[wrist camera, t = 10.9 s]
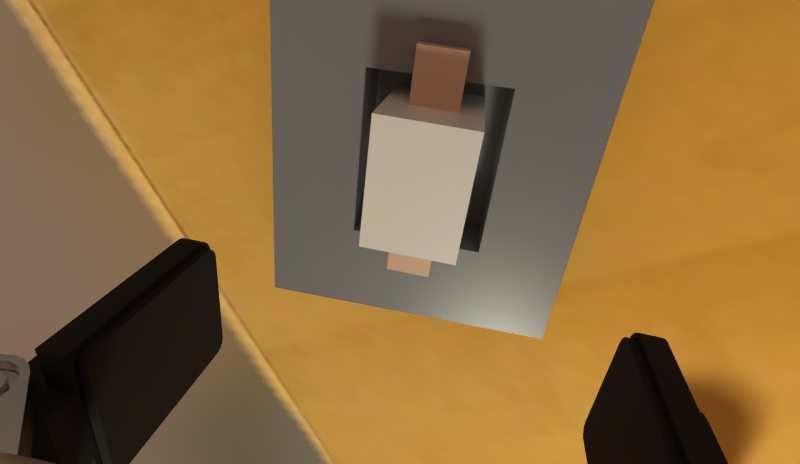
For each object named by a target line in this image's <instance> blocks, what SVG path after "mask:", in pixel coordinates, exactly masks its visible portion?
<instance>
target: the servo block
mask: <svg viewBox="0 0 800 464" xmlns="http://www.w3.org/2000/svg"><path fill="white" fill-rule="evenodd" d="M470 53H471V49H467V48H460V47H454V46H447V45H441V44H435V43H428V42H422V41H419V42H418V43H417V46H416V54H415V61H414V69H413V76H412V83H411V85H410V84H404V83H399V84H398V85H397V86H396V87H395V88H394V89H393V91H392V92H391V93H390V94H389V95H388V96H387V97H386V98H385V99H384V100H383V102H382V103H381V104H380V105H379V106H378V107H377V108H376V109H375V110H374V111H373V112H372V117H371V127H370V137H369V147H368V158H367V168H366V178H365V188H364V199H363V209H362V219H361V229H360V239H359V247H364V248H369V249H374V250H380V251H385V252H389V255H388V262H387V269H390V270H395V271H400V272H405V273H410V274H415V275H420V276H425V277H429V272H430V267H431V262H432V261H436V262H441V263H446V264H451V265H456V261H457V256H458V252H459V247H460V243H461V238H462V233H463V229H464V224H465V220H466V215H467V210H468V206H469V201H470V196H471V192H472V187H473V183H474V178H475V173H476V169H477V164H478V160H479V155H480V150H481V146H482V141H483V136H484V128H485V97H483V96H477V95H471V94H465V93H463V90H464V85H465V80H466V74H467V69H468V64H469V58H470Z"/></svg>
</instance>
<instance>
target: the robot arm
mask: <svg viewBox="0 0 800 464" xmlns="http://www.w3.org/2000/svg"><path fill="white" fill-rule="evenodd" d="M221 344H222V325H221V313H220V302H219V290H218V278H217V266H216V256H215V253H214V251H212V250H210V247H209V245H208V244H207V243H205V242H200V241H195V240H190V239H186V238H181V239H179V240H178V241H176V242H175V243H174V244H172V245H171V246H170V247H168V248H167V249H166V250H164V251H163V252H162V253H160V254H159V255H158V256H157V257H155V258H154V259H153V260H151V261H150V262H149V263H147V264H146V265H145V266H143V267H142V268H141V269H139V270H138V271H137V272H135V273H134V274H133V275H132V276H130V277H129V278H128V279H126V280H125V281H124V282H122V283H121V284H120V285H118V286H117V287H116V288H114V289H113V290H112V291H110V292H109V293H108V294H107V295H105V296H104V297H103V298H101V299H100V300H99V301H97V302H96V303H95V304H93V305H92V306H91V307H89V308H88V309H87V310H86V311H84V312H83V313H82V314H80V315H79V316H78V317H76V318H75V319H74V320H72V321H71V322H70V323H68V324H67V325H66V326H64V327H63V328H62V329H61V330H59V331H58V332H57V333H55V334H54V335H53V336H51V337H50V338H49V339H48V340H46V341H45V342H43V343H42V344H41V345H40V346H38V347H37V348H36V349H35V351H36V354H37V356H36V357H34V358H33V359H32V360H31V361H29V362H28V363H27V362H26V361H25V360H24V359H23V358H21V357H18V356H15V355H5V354H0V464H129V463H130V462H131V461H132V460H133V458H134V457H135V456H136V455H137V453H138V452H139V451H140V450H141V448H142V447H143V446H144V445H145V443H146V442H147V441H148V440H149V438H150V437H151V436H152V435H153V433H154V432H155V431H156V430H157V428H158V427H159V426H160V424H161V423H162V422H163V421H164V419H165V418H166V417H167V416H168V415H169V413H170V412H171V411H172V409H173V408H174V407H175V405H176V404H177V403H178V402H179V401H180V399H181V398H182V397H183V396H184V394H185V393H186V392H187V391H188V389H189V388H190V387H191V385H192V384H193V383H194V382H195V381H196V379H197V378H198V377H199V376H200V374H201V373H202V372H203V370H204V369H205V368H206V367H207V365H208V364H209V363H210V362H211V360H212V359H213V358H214V357H215V355H216V354H217V353H218V351H219V349H220V347H221ZM583 439H584V446H585V452H586V457H587V463H588V464H728V463H727V460H726V458H725V456H724V454H723V452H722V450H721V448H720V446H719V443H718V441H717V439H716V437H715V435H714V433H713V431H712V429H711V426H710V424H709V422H708V420H707V419H706V417H705V416H704V414H703V413H701V412H700V411H699V409H698V407H697V405H696V403H695V401H694V399H693V396H692V394H691V392H690V390H689V388H688V386H687V383H686V381H685V379H684V377H683V375H682V373H681V370H680V368H679V366H678V364H677V362H676V360H675V357H674V355H673V353H672V351H671V349H670V347H669V344H668V342H667V341H666V339H664V338H660V337H655V336H651V335H646V334H641V333H634V334H633V335H632V336H631V337H630V338H627V337H624V338H623V339H622V340H621V342H620V344H619V346H618V348H617V351H616V353H615V355H614V357H613V360H612V362H611V364H610V367H609V369H608V371H607V374H606V376H605V378H604V380H603V383H602V385H601V387H600V390H599V392H598V394H597V397H596V399H595V401H594V404H593V406H592V408H591V410H590V413H589V415H588V417H587V420H586V422H585V425H584V432H583Z"/></svg>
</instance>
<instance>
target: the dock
mask: <svg viewBox="0 0 800 464" xmlns="http://www.w3.org/2000/svg"><path fill="white" fill-rule="evenodd" d="M653 3H654V0H270V22H271V80H272V138H273V196H274V253H275V287H277V288H282V289H287V290H292V291H298V292H303V293H308V294H313V295H318V296H323V297H328V298H334V299H339V300H344V301H349V302H354V303H359V304H365V305H370V306H375V307H380V308H385V309H390V310H396V311H401V312H406V313H411V314H416V315H421V316H426V317H432V318H437V319H442V320H447V321H452V322H457V323H463V324H468V325H473V326H478V327H483V328H488V329H494V330H499V331H504V332H509V333H514V334H519V335H524V336H530V337H535V338H540V339H542V337H543V334H544V331H545V328H546V325H547V322H548V319H549V316H550V313H551V310H552V307H553V304H554V301H555V298H556V295H557V292H558V289H559V286H560V283H561V280H562V277H563V274H564V271H565V268H566V265H567V262H568V259H569V256H570V253H571V250H572V247H573V244H574V241H575V238H576V235H577V232H578V229H579V226H580V223H581V220H582V217H583V214H584V211H585V208H586V205H587V202H588V199H589V196H590V193H591V190H592V187H593V184H594V181H595V178H596V175H597V172H598V169H599V166H600V163H601V160H602V157H603V154H604V151H605V148H606V145H607V142H608V139H609V136H610V133H611V130H612V127H613V124H614V121H615V118H616V115H617V112H618V109H619V105H620V102H621V99H622V96H623V93H624V90H625V87H626V84H627V81H628V78H629V75H630V72H631V69H632V66H633V63H634V60H635V57H636V54H637V51H638V48H639V45H640V42H641V39H642V36H643V33H644V30H645V27H646V24H647V21H648V18H649V15H650V12H651V9H652V6H653ZM419 41H422V42H428V43H435V44H441V45H447V46H454V47H460V48H467V49H471V53H470V58H469V64H468V69H467V74H466V80H465V85H464V90H463V93H465V94H471V95H477V96H483V97H485V128H484V136H483V141H482V146H481V150H480V155H479V160H478V164H477V169H476V173H475V178H474V183H473V187H472V192H471V196H470V201H469V206H468V210H467V215H466V220H465V224H464V229H463V233H462V238H461V243H460V247H459V252H458V256H457V261H456V265H451V264H446V263H441V262H436V261H432V262H431V267H430V272H429V277H425V276H420V275H415V274H410V273H405V272H400V271H395V270H390V269H387V262H388V255H389V252H385V251H380V250H374V249H369V248H364V247H359V239H360V229H361V219H362V209H363V199H364V188H365V178H366V168H367V158H368V147H369V137H370V127H371V117H372V112H373V111H374V110H375V109H376V108H377V107H378V106H379V105H380V104H381V103H382V102H383V100H384V99H385V98H386V97H387V96H388V95H389V94H390V93H391V92H392V91H393V89H394V88H395V87H396V86H397V85H398V84H399V83H404V84H410V85H411V83H412V76H413V69H414V61H415V54H416V46H417V43H418V42H419Z"/></svg>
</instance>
